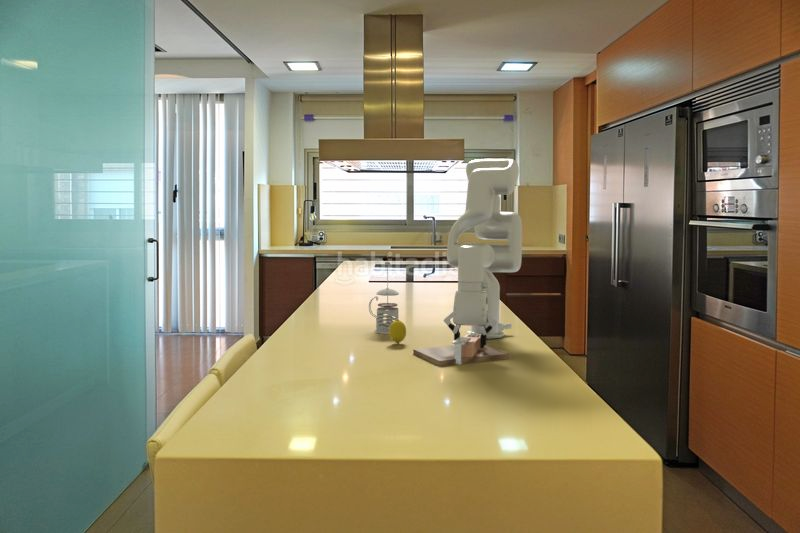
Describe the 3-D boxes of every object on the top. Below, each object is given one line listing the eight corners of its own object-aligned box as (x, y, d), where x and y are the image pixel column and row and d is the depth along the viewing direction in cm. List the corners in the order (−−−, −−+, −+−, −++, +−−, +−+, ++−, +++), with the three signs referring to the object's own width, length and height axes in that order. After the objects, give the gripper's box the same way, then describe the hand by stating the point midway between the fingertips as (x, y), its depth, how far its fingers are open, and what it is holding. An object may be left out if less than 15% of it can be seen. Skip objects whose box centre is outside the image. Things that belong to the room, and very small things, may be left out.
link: (466, 345, 213) (466, 333, 213) (483, 346, 212) (483, 334, 211) (455, 356, 197) (456, 344, 197) (474, 357, 196) (474, 345, 195)
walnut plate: (479, 347, 217) (479, 342, 217) (509, 358, 201) (509, 353, 201) (413, 354, 207) (413, 349, 207) (439, 366, 192) (439, 360, 192)
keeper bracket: (459, 358, 202) (459, 336, 201) (470, 359, 201) (471, 337, 200) (451, 364, 194) (451, 342, 194) (463, 365, 193) (463, 342, 193)
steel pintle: (474, 346, 211) (474, 331, 211) (477, 347, 209) (478, 333, 209) (468, 346, 210) (469, 332, 210) (472, 348, 209) (472, 333, 208)
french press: (398, 334, 239) (398, 262, 236) (365, 333, 241) (365, 262, 239) (403, 329, 248) (403, 260, 246) (372, 328, 251) (372, 259, 248)
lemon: (404, 345, 219) (404, 321, 219) (387, 345, 220) (387, 320, 220) (407, 342, 225) (407, 318, 224) (391, 341, 226) (391, 317, 225)
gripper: (501, 286, 204) (501, 346, 205) (444, 284, 208) (444, 342, 210) (498, 289, 197) (497, 351, 198) (439, 287, 201) (438, 347, 203)
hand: (470, 346), depth 204 cm, fingers open, 6 cm apart
